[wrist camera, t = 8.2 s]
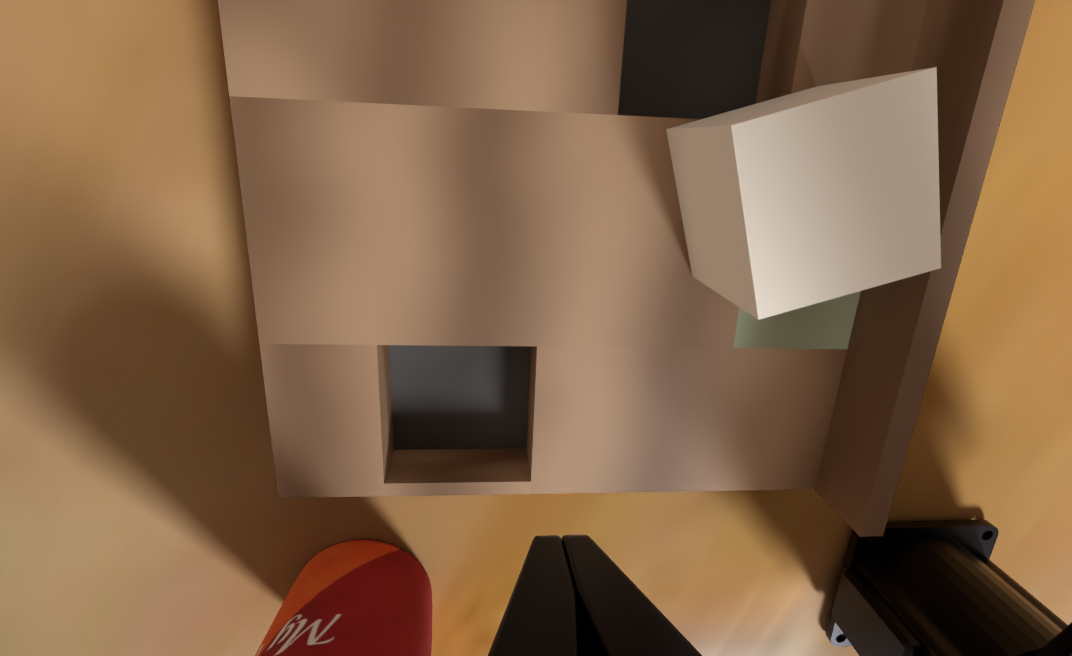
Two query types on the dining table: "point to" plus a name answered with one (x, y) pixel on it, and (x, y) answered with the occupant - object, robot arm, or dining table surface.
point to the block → (813, 192)
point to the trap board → (572, 244)
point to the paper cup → (355, 605)
